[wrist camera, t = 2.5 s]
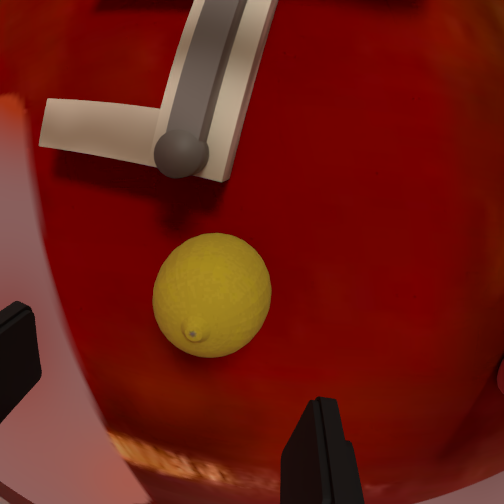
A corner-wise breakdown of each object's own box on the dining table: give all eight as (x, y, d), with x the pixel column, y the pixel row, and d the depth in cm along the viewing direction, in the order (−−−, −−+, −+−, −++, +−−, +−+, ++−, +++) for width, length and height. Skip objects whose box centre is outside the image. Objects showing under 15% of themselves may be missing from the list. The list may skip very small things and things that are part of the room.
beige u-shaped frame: (122, -45, 13) (96, -71, 9) (291, -40, 13) (291, -78, 9) (60, 146, 18) (19, 148, 14) (228, 180, 18) (213, 187, 14)
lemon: (250, 204, 18) (227, 240, 10) (286, 288, 19) (289, 370, 12) (167, 240, 19) (102, 294, 12) (206, 317, 20) (169, 400, 13)
